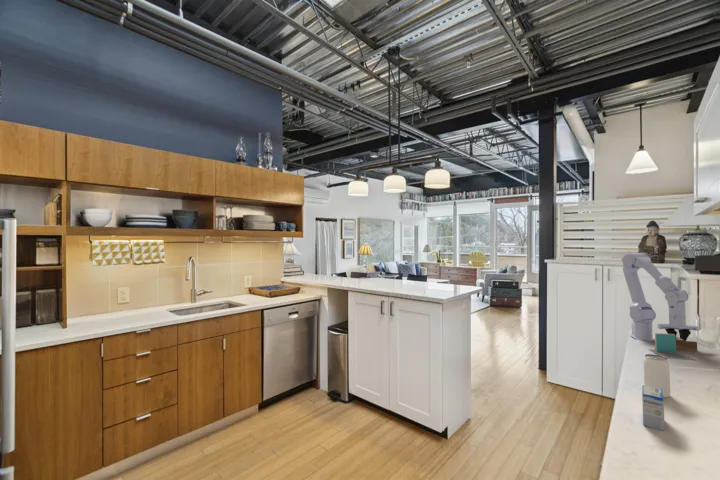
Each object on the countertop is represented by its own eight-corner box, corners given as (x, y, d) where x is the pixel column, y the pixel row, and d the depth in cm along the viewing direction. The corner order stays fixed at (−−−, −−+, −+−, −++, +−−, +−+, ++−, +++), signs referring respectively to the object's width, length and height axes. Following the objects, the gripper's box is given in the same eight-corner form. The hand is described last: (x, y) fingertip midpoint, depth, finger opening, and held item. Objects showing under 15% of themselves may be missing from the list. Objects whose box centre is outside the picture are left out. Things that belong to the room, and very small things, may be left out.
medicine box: (642, 414, 98) (641, 384, 99) (663, 419, 96) (662, 388, 96) (643, 425, 92) (642, 393, 93) (665, 431, 90) (664, 398, 90)
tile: (655, 350, 154) (654, 333, 154) (674, 352, 152) (674, 334, 152) (656, 351, 153) (656, 333, 153) (676, 352, 150) (675, 334, 151)
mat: (648, 350, 156) (648, 349, 156) (679, 352, 153) (679, 351, 153) (662, 359, 144) (662, 357, 144) (696, 361, 141) (696, 360, 141)
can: (639, 392, 113) (638, 355, 113) (650, 388, 116) (649, 352, 116) (663, 399, 107) (662, 361, 108) (674, 395, 110) (673, 358, 110)
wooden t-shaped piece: (657, 342, 168) (657, 333, 168) (680, 344, 165) (680, 334, 165) (672, 350, 155) (672, 340, 155) (697, 352, 152) (697, 342, 152)
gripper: (662, 316, 158) (663, 346, 157) (702, 318, 153) (703, 348, 153) (654, 313, 164) (655, 342, 164) (692, 315, 160) (693, 344, 159)
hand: (678, 345), depth 159 cm, fingers closed on wooden t-shaped piece, 2 cm apart
